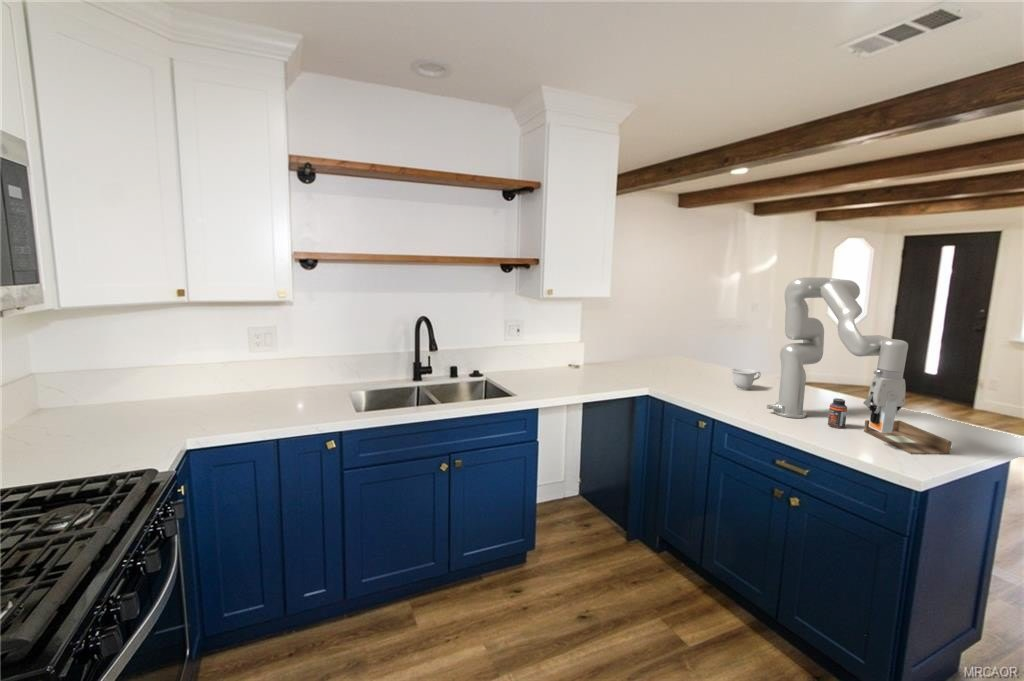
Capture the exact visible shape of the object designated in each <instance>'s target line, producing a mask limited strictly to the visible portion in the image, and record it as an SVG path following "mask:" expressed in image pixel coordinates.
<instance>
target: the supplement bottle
mask: <svg viewBox="0 0 1024 681" xmlns="http://www.w3.org/2000/svg"><path fill="white" fill-rule="evenodd" d="M832 400H833V401H832V403H830V405H829V408H828V409H829V410H828V416H827V425H828V426H829V427H831V428H835V429H844V428H845V427H846V421H847V415H848V414H847V413H848V412H847V411H848V406H847V404H846V400H845V399H842V398H833V399H832Z"/></svg>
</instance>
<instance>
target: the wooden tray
mask: <svg viewBox="0 0 1024 681" xmlns="http://www.w3.org/2000/svg"><path fill="white" fill-rule="evenodd" d="M869 421H870V419H869V420H867V419H865V421H864V428H863V429H864V430H863V432H865V433H866V434H869V435H870V436H873V437H875V438H877V439H879V440H881V441H883V442H885V443H887V444H889V445H891V446H893V447H895V448H897V449H899V450H901V451H904V452H905V453H908V454H910V455H950V454H951V449H952V443H953V442H952V441H951V440H949V439H946V438H943V437H942V436H939V435H936V434H934V433H931V432H930V431H927V430H923V429H922V428H919V427H917V426H915V425H912V424H909V423H907V422H906V421H905V422H904V421H903V420H895V419H894V424H893V430H892V433H881V432H879V431H877V430H875V429H872V428H870V427H869Z"/></svg>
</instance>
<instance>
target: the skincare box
mask: <svg viewBox="0 0 1024 681" xmlns="http://www.w3.org/2000/svg"><path fill="white" fill-rule="evenodd" d="M896 407H897V401H886V405H885V406H881V407H880V410H879V412H878V413H879V414H880V416H879V422H878V424H875V423H873V422H871V421H869V427H870V428H872V429H875V430H877V431H879V432H881V433H892V430H893V424H894V420H895V418H896V414H897V413H896ZM875 408H876V407H875ZM895 413H896V414H895ZM870 417H871V415H870V416H869V418H870Z"/></svg>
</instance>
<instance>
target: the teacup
mask: <svg viewBox="0 0 1024 681" xmlns="http://www.w3.org/2000/svg"><path fill="white" fill-rule="evenodd" d="M731 372H732V382H733V384H734V386H736V389H737V390H740V391H749V388H750V387H752V386H753V383H754V381H756V380H759V379H760V378H761V377H762V373H761V371H760V370H754V369H750V368H743V367H742V368H741V367H736V368H735V367H734V368H732V369H731ZM757 374H758V375H757ZM756 375H757V377H755V376H756Z"/></svg>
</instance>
